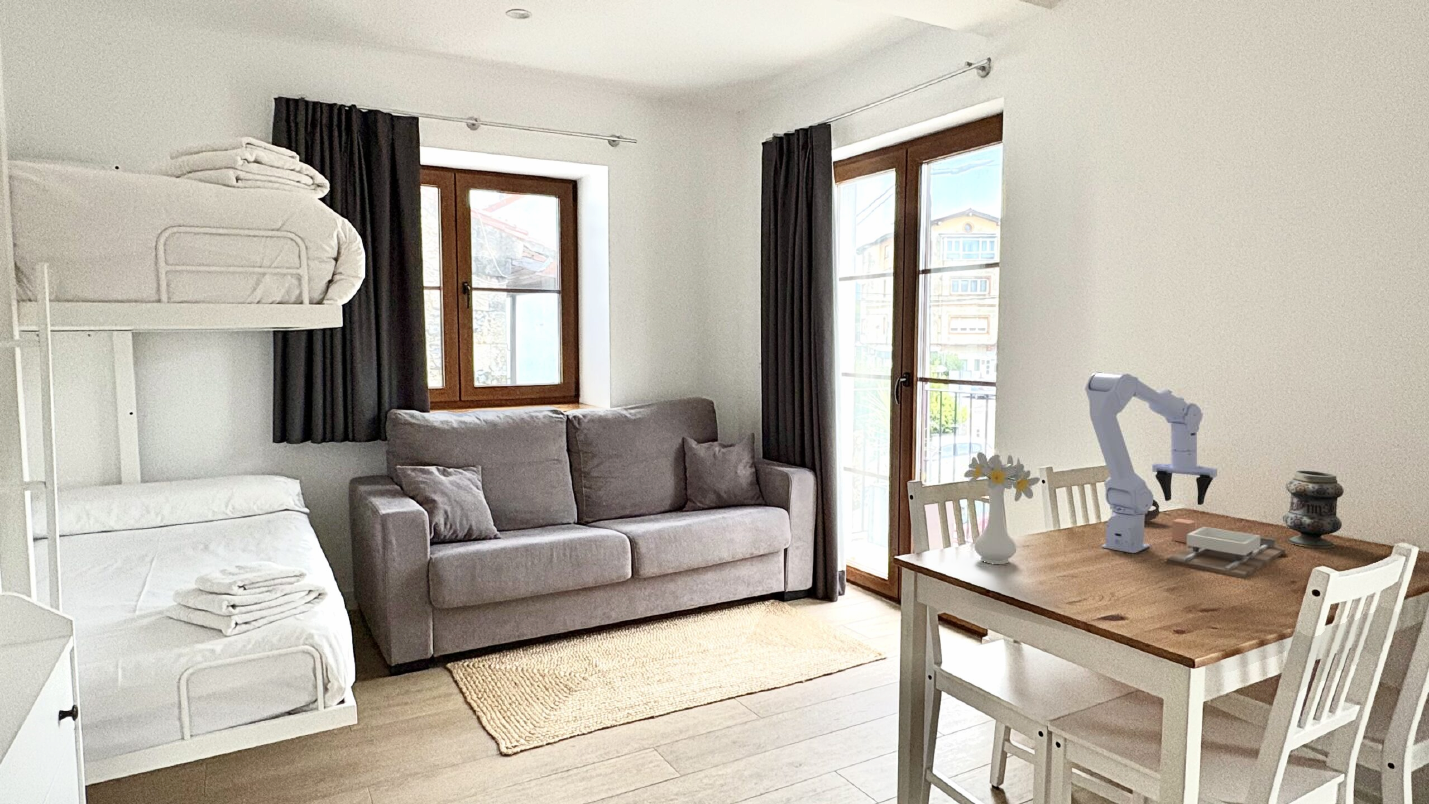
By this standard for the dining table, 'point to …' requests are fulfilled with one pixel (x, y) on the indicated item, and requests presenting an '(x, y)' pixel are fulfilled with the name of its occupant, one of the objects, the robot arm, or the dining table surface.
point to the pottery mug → (1152, 512)
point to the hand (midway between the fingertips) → (1184, 502)
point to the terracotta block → (1182, 529)
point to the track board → (1228, 559)
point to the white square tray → (1223, 541)
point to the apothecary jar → (1313, 508)
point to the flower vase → (999, 503)
